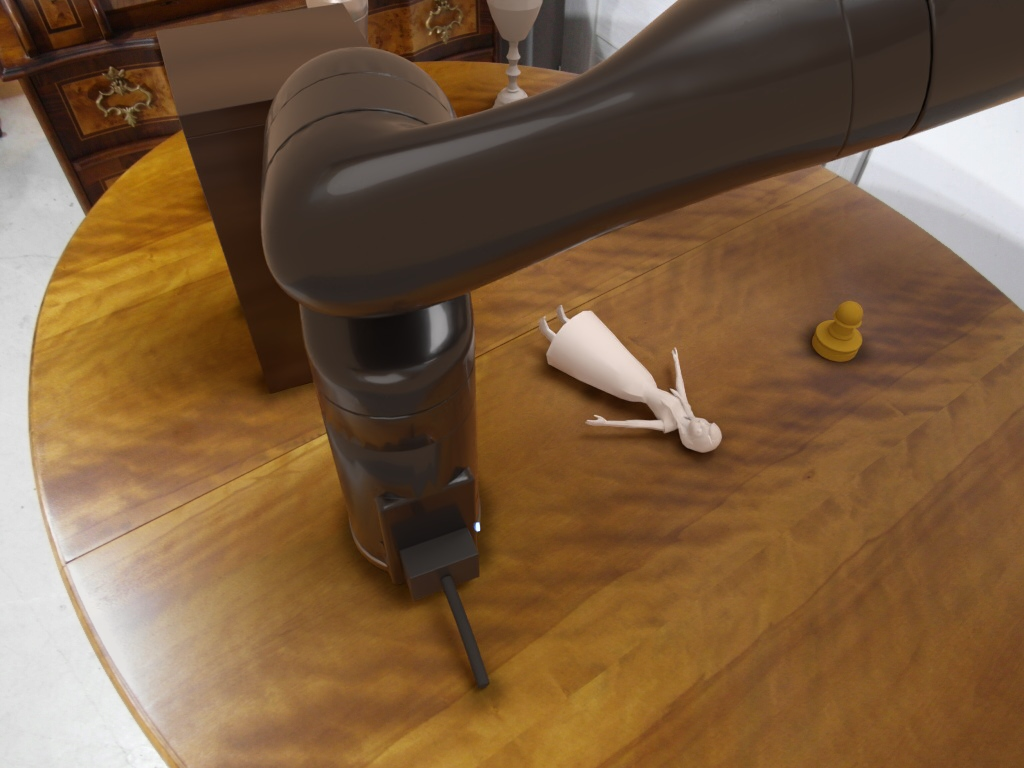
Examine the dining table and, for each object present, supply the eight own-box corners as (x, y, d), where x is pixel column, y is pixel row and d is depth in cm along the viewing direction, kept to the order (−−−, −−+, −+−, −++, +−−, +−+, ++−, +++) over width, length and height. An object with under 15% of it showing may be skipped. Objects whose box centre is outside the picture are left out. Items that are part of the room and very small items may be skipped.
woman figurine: (596, 269, 68) (768, 388, 61) (589, 305, 72) (750, 421, 64) (502, 335, 63) (679, 474, 55) (499, 370, 66) (665, 505, 59)
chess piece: (812, 326, 71) (829, 284, 67) (856, 335, 70) (877, 293, 66) (811, 356, 68) (829, 315, 64) (857, 365, 67) (878, 324, 64)
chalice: (477, 121, 93) (475, -39, 80) (488, 93, 98) (487, -63, 84) (537, 127, 93) (545, -33, 79) (545, 99, 97) (554, -57, 84)
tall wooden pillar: (419, 351, 68) (391, 77, 49) (269, 393, 64) (177, 115, 45) (380, 268, 75) (342, 2, 56) (244, 302, 71) (155, 30, 53)
